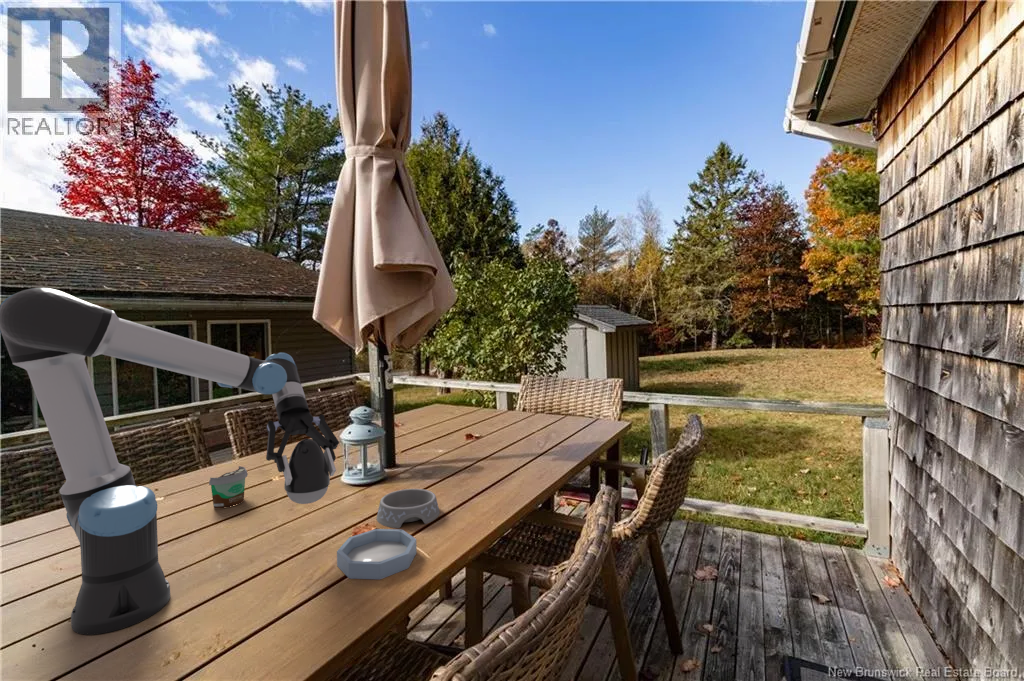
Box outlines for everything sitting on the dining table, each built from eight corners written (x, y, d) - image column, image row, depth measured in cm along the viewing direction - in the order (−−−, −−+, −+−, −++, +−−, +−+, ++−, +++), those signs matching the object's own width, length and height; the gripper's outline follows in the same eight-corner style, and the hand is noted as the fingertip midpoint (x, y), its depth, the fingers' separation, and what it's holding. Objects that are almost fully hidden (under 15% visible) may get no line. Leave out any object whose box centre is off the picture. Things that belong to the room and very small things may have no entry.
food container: (227, 512, 140) (226, 479, 139) (209, 510, 141) (208, 478, 141) (257, 497, 152) (256, 466, 152) (241, 495, 153) (240, 465, 153)
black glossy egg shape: (280, 510, 108) (279, 445, 108) (289, 494, 118) (288, 435, 118) (327, 506, 111) (326, 443, 110) (331, 491, 121) (331, 433, 120)
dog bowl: (374, 508, 143) (374, 491, 143) (433, 500, 149) (433, 484, 149) (378, 532, 127) (378, 513, 127) (445, 522, 133) (445, 503, 133)
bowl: (402, 580, 103) (401, 564, 103) (327, 577, 104) (327, 562, 104) (421, 543, 120) (421, 529, 120) (357, 541, 121) (356, 528, 121)
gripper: (329, 407, 133) (352, 475, 122) (241, 417, 118) (258, 496, 107) (336, 390, 129) (360, 460, 117) (246, 398, 114) (264, 479, 103)
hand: (311, 477), depth 112 cm, fingers closed on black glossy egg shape, 9 cm apart
